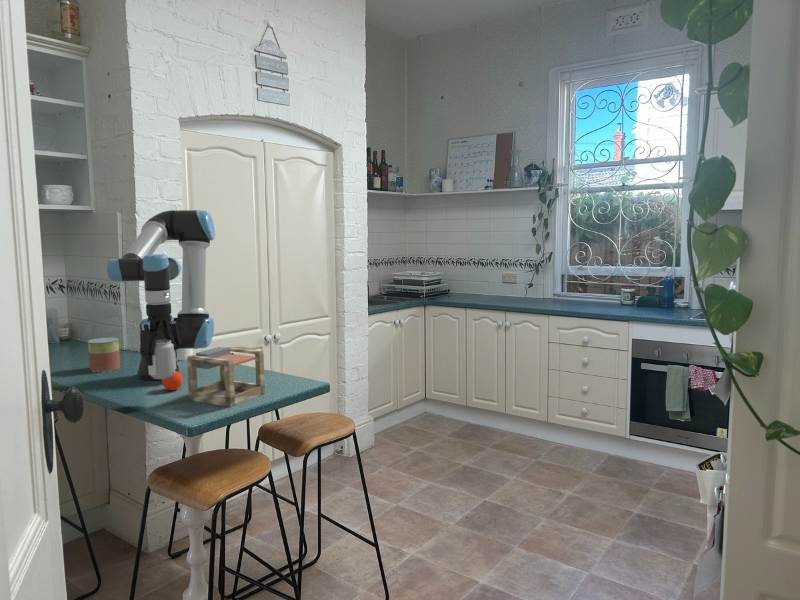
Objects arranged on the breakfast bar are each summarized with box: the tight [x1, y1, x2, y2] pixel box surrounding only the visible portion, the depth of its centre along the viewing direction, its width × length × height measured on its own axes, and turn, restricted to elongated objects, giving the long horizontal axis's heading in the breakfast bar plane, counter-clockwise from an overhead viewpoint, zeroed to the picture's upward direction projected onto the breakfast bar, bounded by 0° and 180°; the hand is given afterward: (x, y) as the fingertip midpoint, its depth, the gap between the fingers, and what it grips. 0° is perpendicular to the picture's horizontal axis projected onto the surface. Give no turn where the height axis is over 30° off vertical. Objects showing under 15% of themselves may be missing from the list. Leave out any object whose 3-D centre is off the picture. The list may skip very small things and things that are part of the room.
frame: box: [186, 346, 266, 408], centre depth 200 cm, size 18×17×15 cm
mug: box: [176, 349, 197, 362], centre depth 259 cm, size 12×9×9 cm
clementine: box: [161, 371, 184, 391], centre depth 209 cm, size 8×7×7 cm
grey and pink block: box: [195, 346, 256, 370], centre depth 199 cm, size 16×13×5 cm
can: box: [149, 339, 175, 380], centre depth 192 cm, size 8×8×12 cm
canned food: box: [87, 337, 121, 371], centre depth 239 cm, size 11×11×12 cm
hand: (162, 371), depth 193 cm, fingers closed on can, 7 cm apart
